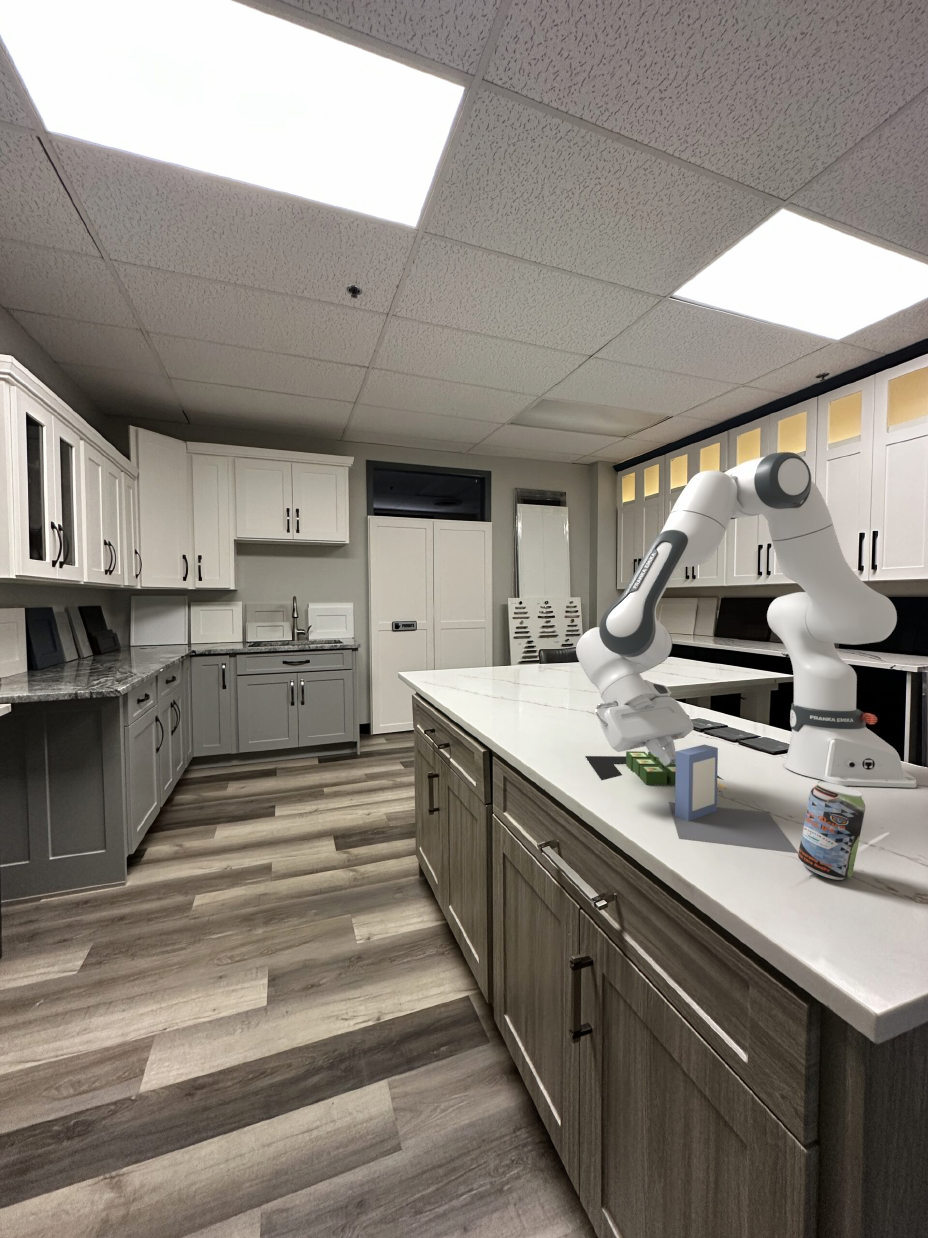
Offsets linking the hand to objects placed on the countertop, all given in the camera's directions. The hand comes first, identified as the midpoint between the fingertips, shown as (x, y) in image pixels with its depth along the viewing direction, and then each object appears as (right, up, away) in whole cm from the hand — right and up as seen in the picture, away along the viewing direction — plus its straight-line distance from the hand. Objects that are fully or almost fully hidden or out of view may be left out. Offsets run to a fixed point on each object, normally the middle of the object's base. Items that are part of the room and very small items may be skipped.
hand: (672, 763), depth 91 cm
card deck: (+2, -8, -4) cm, 9 cm away
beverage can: (+12, -9, -22) cm, 27 cm away
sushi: (+3, -8, +17) cm, 19 cm away
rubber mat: (+5, -8, -8) cm, 13 cm away
